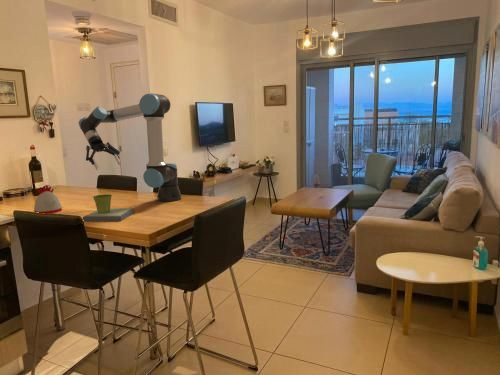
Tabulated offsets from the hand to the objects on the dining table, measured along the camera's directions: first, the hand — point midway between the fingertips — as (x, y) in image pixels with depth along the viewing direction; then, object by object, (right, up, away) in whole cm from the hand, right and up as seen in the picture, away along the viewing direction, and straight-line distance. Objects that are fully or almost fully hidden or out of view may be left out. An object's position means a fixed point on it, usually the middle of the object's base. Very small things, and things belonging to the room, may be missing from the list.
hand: (108, 165), depth 218 cm
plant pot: (+6, -26, -23) cm, 35 cm away
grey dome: (-32, -27, -6) cm, 42 cm away
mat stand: (+9, -28, -22) cm, 37 cm away
